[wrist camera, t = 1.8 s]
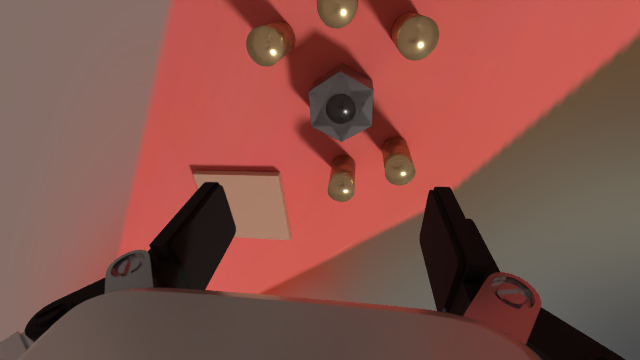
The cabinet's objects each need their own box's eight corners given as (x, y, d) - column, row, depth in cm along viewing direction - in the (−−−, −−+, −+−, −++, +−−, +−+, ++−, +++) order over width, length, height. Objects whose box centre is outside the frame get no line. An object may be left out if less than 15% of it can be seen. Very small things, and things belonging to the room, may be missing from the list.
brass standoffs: (258, -10, 19) (234, -12, 16) (432, -25, 18) (450, -30, 14) (287, 173, 29) (277, 199, 25) (403, 175, 27) (409, 204, 23)
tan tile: (196, 170, 30) (192, 174, 30) (280, 172, 29) (278, 176, 28) (220, 231, 36) (217, 236, 35) (291, 235, 34) (290, 240, 34)
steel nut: (312, 64, 22) (306, 72, 20) (373, 61, 21) (374, 70, 19) (317, 127, 25) (312, 142, 23) (369, 127, 25) (370, 142, 22)
